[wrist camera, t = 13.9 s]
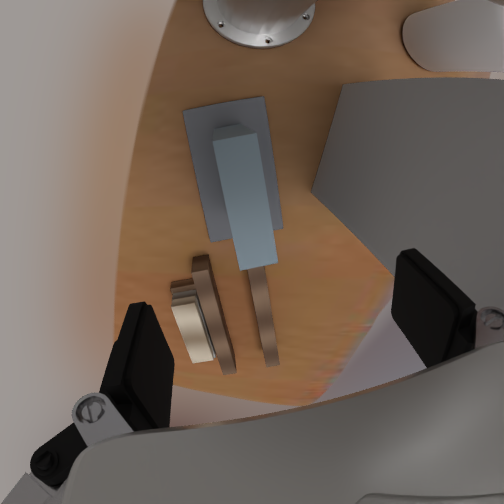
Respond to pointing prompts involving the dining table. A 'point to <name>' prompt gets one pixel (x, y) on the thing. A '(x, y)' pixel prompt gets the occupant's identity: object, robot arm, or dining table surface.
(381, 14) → the dining table surface
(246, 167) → the blue grey brick
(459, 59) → the alcohol
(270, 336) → the rack
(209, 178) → the slate mat
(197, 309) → the offcut stack
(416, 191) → the grey tall flat block
